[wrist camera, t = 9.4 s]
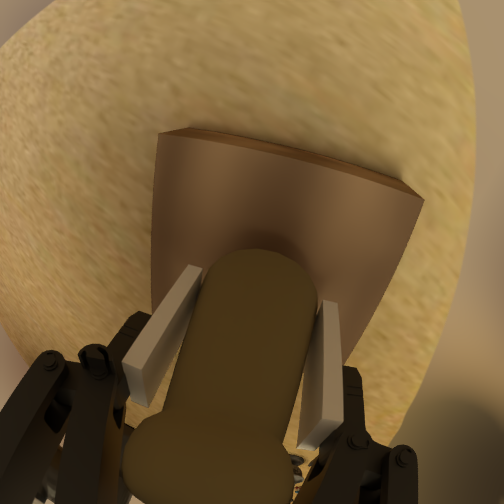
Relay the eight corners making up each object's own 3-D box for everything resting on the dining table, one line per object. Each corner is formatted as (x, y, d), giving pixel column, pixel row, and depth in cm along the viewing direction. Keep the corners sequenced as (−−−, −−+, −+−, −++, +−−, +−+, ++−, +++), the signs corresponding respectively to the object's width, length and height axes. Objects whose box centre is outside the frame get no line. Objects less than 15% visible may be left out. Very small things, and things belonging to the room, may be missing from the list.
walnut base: (172, 299, 24) (152, 330, 20) (187, 127, 17) (158, 133, 14) (333, 341, 23) (334, 378, 19) (402, 181, 16) (424, 200, 13)
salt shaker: (262, 454, 36) (248, 521, 26) (298, 452, 34) (288, 523, 24) (277, 466, 38) (266, 527, 28) (311, 464, 36) (303, 528, 26)
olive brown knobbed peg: (194, 245, 14) (51, 450, 4) (324, 252, 13) (319, 531, 3) (208, 337, 17) (135, 509, 7) (312, 347, 15) (291, 544, 6)
